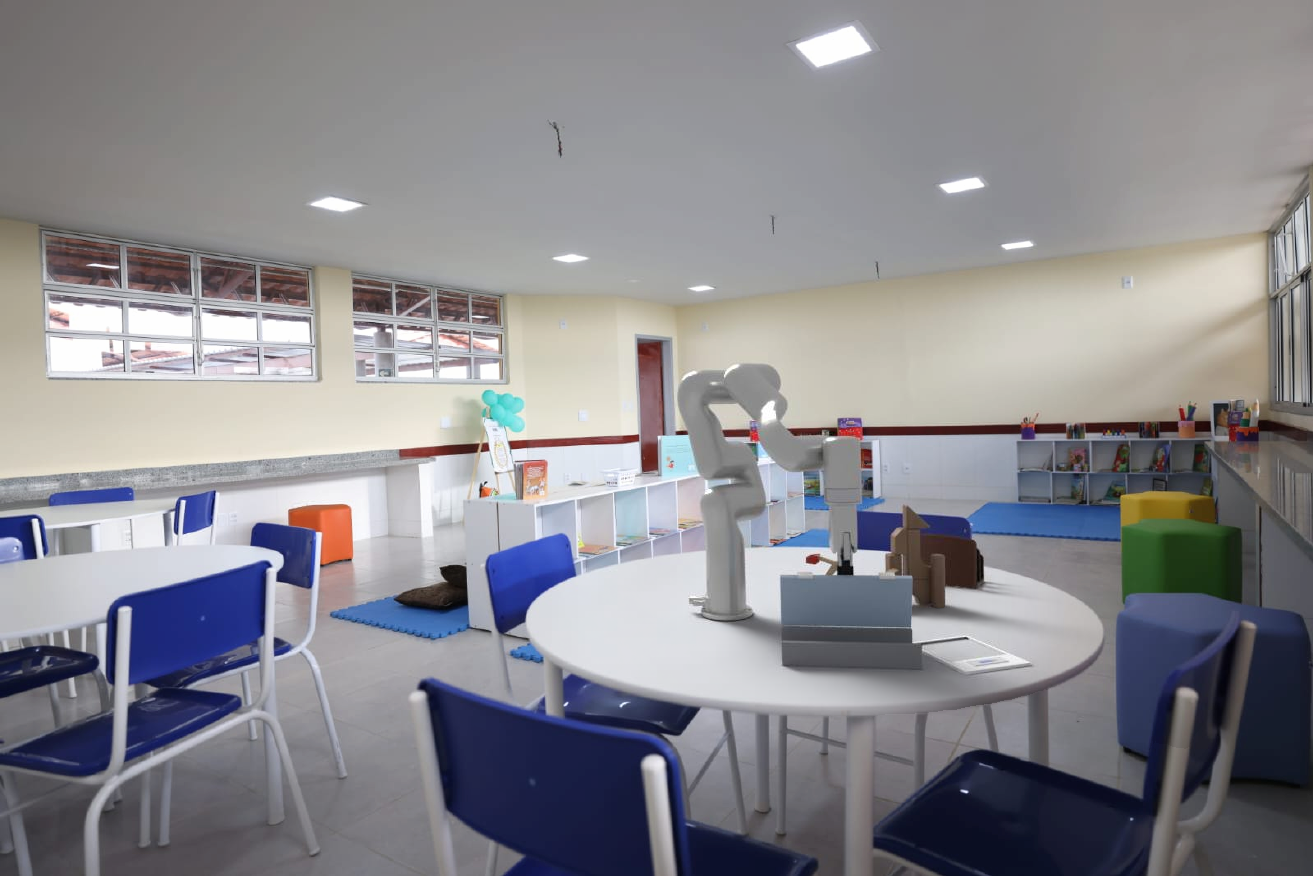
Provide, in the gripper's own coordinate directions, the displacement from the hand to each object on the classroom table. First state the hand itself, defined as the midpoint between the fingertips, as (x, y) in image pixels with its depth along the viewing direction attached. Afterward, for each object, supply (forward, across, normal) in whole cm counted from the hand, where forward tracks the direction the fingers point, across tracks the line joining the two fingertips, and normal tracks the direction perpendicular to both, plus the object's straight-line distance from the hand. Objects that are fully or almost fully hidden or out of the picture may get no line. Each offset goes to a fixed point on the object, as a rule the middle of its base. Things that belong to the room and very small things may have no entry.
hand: (845, 584), depth 150 cm
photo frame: (+14, +3, +23) cm, 27 cm away
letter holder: (+13, -60, +32) cm, 70 cm away
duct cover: (+3, +3, 0) cm, 4 cm away
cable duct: (+13, +6, 0) cm, 14 cm away
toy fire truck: (+13, -48, +1) cm, 49 cm away
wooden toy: (+13, -33, +19) cm, 41 cm away
